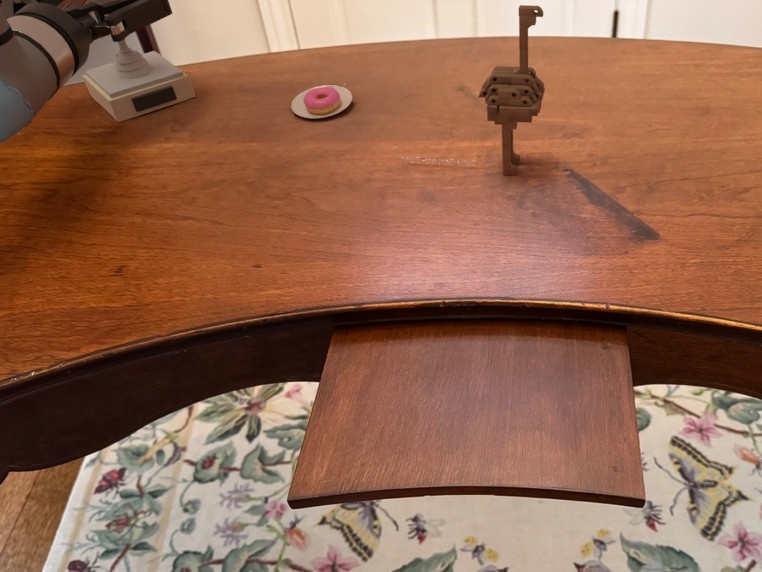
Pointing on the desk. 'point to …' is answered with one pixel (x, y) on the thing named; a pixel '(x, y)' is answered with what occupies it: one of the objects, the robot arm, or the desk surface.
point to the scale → (139, 88)
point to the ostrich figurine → (511, 95)
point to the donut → (321, 101)
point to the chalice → (128, 59)
